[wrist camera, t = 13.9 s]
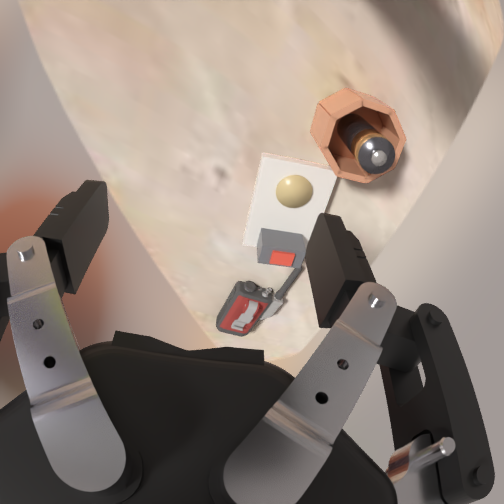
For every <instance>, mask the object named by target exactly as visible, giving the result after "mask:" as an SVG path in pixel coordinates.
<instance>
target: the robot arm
mask: <svg viewBox="0 0 504 504" xmlns="http://www.w3.org/2000/svg"><path fill="white" fill-rule="evenodd" d="M108 213H109V212H108V199H107V185H106V182H104V181H94V180H86V181H85V182H84V183H83V184H82V185H81V186H80V188H79V189H78V190H77V191H76V192H71V193H69V194H68V195H66V196H65V197H63V198H62V199H61V200H60V202H59V203H58V204H57V205H56V208H54V209H53V210H52V211H51V213H50V215H48V217H47V218H46V219H45V220H44V222H43V223H42V225H41V226H40V227H39V228H38V230H37V231H36V233H35V234H34V235H33V236H27V237H23V238H21V239H19V240H17V241H15V242H14V243H13V244H12V245H11V246H10V248H9V249H8V251H7V253H0V341H1V338H2V336H3V334H4V331H5V329H6V326H7V324H8V322H9V319H10V323H11V328H12V333H13V338H14V343H15V347H16V352H17V356H18V360H19V364H20V368H21V372H22V375H23V379H24V383H25V386H26V389H27V390H25V391H24V392H23V393H21V394H20V395H19V396H17V397H16V398H15V399H14V400H12V401H11V402H9V403H8V404H7V405H6V406H4V407H3V408H2V409H0V504H469V503H471V502H474V501H477V500H480V499H482V498H484V497H485V496H487V495H488V494H489V492H490V491H491V489H492V487H493V484H494V478H495V476H494V475H495V473H494V467H493V461H492V457H491V452H490V448H489V443H488V439H487V434H486V430H485V427H484V423H483V419H482V415H481V412H480V408H479V405H478V401H477V398H476V395H475V392H474V388H473V385H472V382H471V379H470V376H469V373H468V370H467V367H466V364H465V361H464V359H463V356H462V353H461V351H460V348H459V345H458V343H457V340H456V337H455V335H454V332H453V330H452V327H451V326H450V323H449V320H448V318H447V316H446V315H445V314H444V313H443V312H442V310H440V309H439V308H438V307H436V306H434V305H432V304H428V303H424V304H421V305H420V306H419V308H418V309H417V310H416V311H415V312H413V311H410V310H408V309H405V308H402V307H400V306H397V303H396V299H395V297H394V296H393V294H392V293H391V292H390V291H389V290H388V289H386V288H385V287H383V286H382V285H380V284H378V283H376V280H375V278H374V275H373V273H372V270H371V268H370V265H369V263H368V261H367V259H366V256H365V253H364V251H363V249H362V246H361V244H360V242H359V240H358V239H357V238H356V237H355V236H354V234H353V233H352V232H351V231H347V230H346V228H345V226H344V224H343V221H342V219H341V217H340V216H336V215H331V214H326V213H320V214H319V215H318V217H317V220H316V223H315V225H314V228H313V231H312V233H311V236H310V239H309V241H308V244H307V248H306V254H305V259H306V265H307V269H308V274H309V279H310V284H311V288H312V293H313V298H314V303H315V308H316V313H317V318H318V324H319V328H331V329H330V331H329V333H328V334H327V335H326V337H325V338H324V340H323V341H322V342H321V344H320V345H319V347H318V348H317V349H316V351H315V352H314V353H313V355H312V356H311V358H310V359H309V360H308V362H307V363H306V364H305V366H304V367H303V368H302V370H301V371H300V372H299V374H298V375H297V376H296V378H294V377H293V376H292V375H291V374H289V373H288V372H286V371H285V370H283V369H282V368H280V367H278V366H276V365H273V364H271V363H269V362H266V361H264V350H255V349H244V348H234V347H221V348H212V349H202V350H191V351H188V350H184V349H181V348H178V347H175V346H173V345H171V344H168V343H165V342H163V341H160V340H158V339H155V338H153V337H150V336H143V335H138V334H132V333H126V332H120V331H115V334H114V338H113V341H107V342H101V343H97V344H93V345H90V346H88V347H85V348H83V349H82V350H80V349H79V346H78V344H77V341H76V338H75V336H74V333H73V330H72V328H71V325H70V322H69V320H68V317H67V314H66V311H65V308H64V305H63V302H62V299H61V298H62V296H63V294H64V292H66V293H71V294H76V292H77V290H78V288H79V286H80V283H81V281H82V279H83V277H84V275H85V273H86V271H87V269H88V267H89V265H90V263H91V261H92V259H93V257H94V254H95V253H96V251H97V249H98V247H99V245H100V243H101V241H102V239H103V237H104V236H105V234H106V231H107V228H108V222H109V214H108ZM420 362H422V365H423V369H424V373H425V377H426V382H425V386H424V388H423V385H422V381H421V377H420V373H419V369H418V366H417V365H418V364H419V363H420ZM376 364H379V365H380V369H381V374H382V379H383V384H384V389H385V394H386V399H387V404H388V410H389V416H390V422H391V428H392V435H393V441H394V448H395V452H394V453H393V454H392V456H391V457H390V460H389V465H388V468H387V469H386V471H385V472H384V471H383V470H382V469H381V468H380V467H379V466H378V465H377V464H376V463H375V462H374V461H373V460H372V459H371V458H370V457H369V456H368V455H367V454H366V453H365V452H364V451H363V450H362V449H361V448H360V447H359V446H358V445H357V444H356V443H355V442H354V440H353V439H352V438H351V437H350V436H349V435H348V434H347V433H346V432H345V431H344V430H343V429H342V427H343V426H344V424H345V422H346V420H347V419H348V417H349V415H350V413H351V412H352V410H353V408H354V406H355V404H356V402H357V400H358V399H359V397H360V395H361V393H362V391H363V389H364V387H365V385H366V383H367V381H368V379H369V377H370V375H371V373H372V371H373V369H374V367H375V365H376Z"/></svg>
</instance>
